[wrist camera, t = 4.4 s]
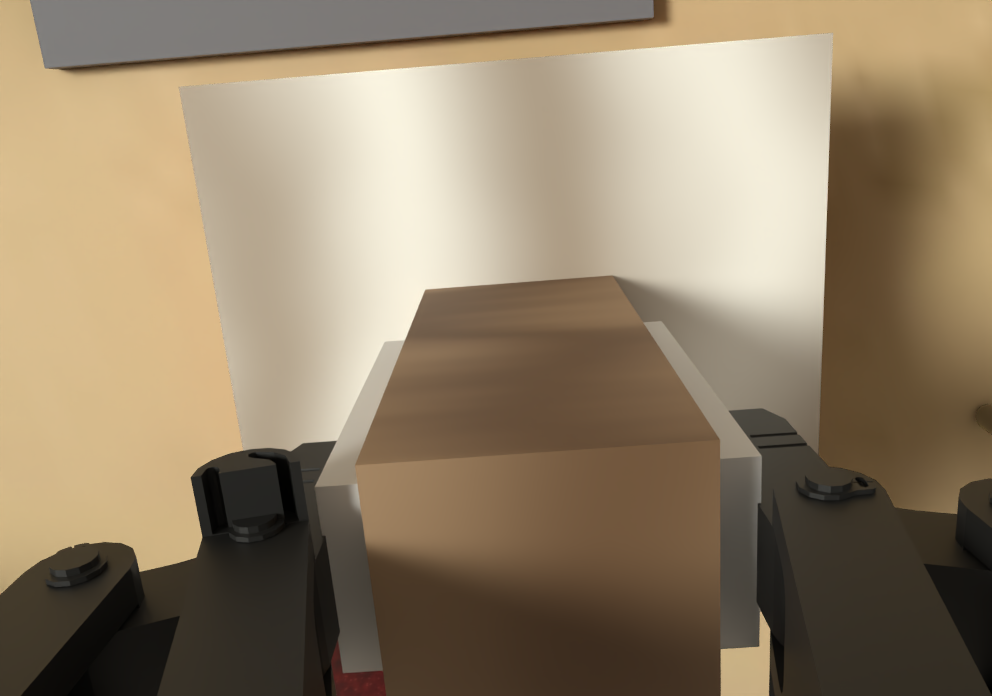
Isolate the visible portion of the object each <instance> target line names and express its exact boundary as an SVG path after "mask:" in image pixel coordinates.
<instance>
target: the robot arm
mask: <svg viewBox="0 0 992 696" xmlns="http://www.w3.org/2000/svg"><path fill="white" fill-rule="evenodd" d="M643 323H644V325H645V326H646V328H647V329H648V331H649V332H650V334H651V335H652V337H653V338H654V340H655V341H656V343H657V344H658V346H659V347H660V349H661V350H662V352H663V353H664V355H665V357H666V358H667V360H668V361H669V363H670V364H671V366H672V367H673V369H674V370H675V372H676V373H677V375H678V376H679V378H680V379H681V381H682V382H683V384H684V386H685V387H686V389H687V390H688V392H689V393H690V395H691V396H692V398H693V399H694V401H695V402H696V404H697V405H698V407H699V408H700V410H701V411H702V413H703V414H704V416H705V418H706V419H707V421H708V422H709V424H710V425H711V427H712V428H713V430H714V431H715V433H716V434H717V436H718V437H719V439H720V649H728V648H744V647H759V623H760V610H761V612H762V614H763V616H764V618H765V620H766V622H767V624H768V626H769V627H770V680H769V696H992V479H984V480H979V481H974V482H970V483H969V484H967V485H966V486H964V487H962V488H961V489H960V494H959V501H958V513H957V514H948V513H936V512H925V511H915V510H907V509H900V508H895V507H894V506H893V504H892V502H891V500H890V498H889V496H888V494H887V492H886V490H885V489H884V488H883V487H882V486H881V485H880V484H879V483H878V482H877V481H876V480H874V479H872V478H870V477H868V476H866V475H864V474H861V473H858V472H854V471H850V470H846V469H843V468H835V467H828V465H827V464H826V463H825V462H824V461H823V460H822V459H821V458H820V457H819V455H818V454H817V453H816V452H815V451H814V450H813V449H812V448H811V447H810V446H807V442H806V441H805V440H804V439H803V438H802V437H801V436H800V435H798V434H797V431H796V430H795V429H794V428H793V427H792V426H791V425H790V423H789V422H788V421H787V420H786V419H785V418H783V417H780V416H778V415H776V414H774V413H772V412H769V411H767V410H765V409H763V408H758V409H744V410H730V411H728V410H727V409H726V407H725V406H724V404H723V403H722V402H721V400H720V399H719V398H718V396H717V395H716V394H715V392H714V391H713V390H712V388H711V387H710V386H709V384H708V383H707V382H706V380H705V379H704V378H703V376H702V375H701V374H700V372H699V371H698V369H697V368H696V367H695V365H694V364H693V363H692V361H691V360H690V359H689V357H688V356H687V355H686V353H685V352H684V351H683V349H682V348H681V347H680V345H679V344H678V343H677V341H676V340H675V339H674V337H673V336H672V334H671V333H670V332H669V330H668V329H667V328H666V326H665V325H664V324H663V322H662V321H656V322H643ZM404 341H405V340H400V341H386V342H384V344H383V346H382V348H381V350H380V352H379V354H378V357H377V359H376V361H375V363H374V365H373V367H372V369H371V371H370V373H369V375H368V377H367V379H366V381H365V384H364V386H363V388H362V390H361V392H360V394H359V396H358V398H357V400H356V402H355V404H354V406H353V408H352V411H351V413H350V415H349V417H348V419H347V421H346V423H345V425H344V427H343V429H342V431H341V433H340V435H339V438H338V440H337V441H326V442H312V443H302V444H301V445H300V446H298V447H297V448H295V449H294V450H292V451H291V452H290V451H288V450H286V449H276V448H260V449H249V450H244V451H240V452H235V453H230V454H227V455H225V456H222V457H219V458H217V459H214V460H211V461H210V462H208V463H206V464H205V465H203V466H201V467H200V468H198V469H197V470H196V472H195V473H194V474H193V475H192V477H191V481H192V486H193V491H194V496H195V501H196V506H197V511H198V516H199V521H200V527H201V532H202V537H203V538H202V541H201V545H200V548H199V551H198V555H197V557H196V558H194V559H191V560H187V561H184V562H180V563H177V564H173V565H168V566H164V567H160V568H156V569H151V570H147V571H143V572H139V568H138V563H137V559H136V555H135V553H134V550H133V548H131V547H129V546H127V545H124V544H122V543H109V542H102V543H95V544H89V543H84V544H79V545H75V546H74V548H72V547H68V548H65V549H63V550H60V551H58V552H57V553H56V554H55V555H53V556H51V557H48V558H46V559H44V560H42V561H40V562H39V563H37V564H36V565H34V566H33V567H31V568H30V569H29V570H27V571H26V572H24V573H23V574H22V575H21V576H20V577H19V578H18V579H17V580H16V581H15V582H14V583H13V584H11V585H10V586H9V587H8V588H7V589H6V590H5V591H4V592H3V593H2V594H1V595H0V696H336V689H335V683H334V676H333V670H332V663H331V660H332V657H333V654H334V650H335V647H336V644H337V640H338V643H339V650H340V656H341V663H342V669H343V673H352V672H367V671H383V667H382V660H381V653H380V645H379V638H378V631H377V623H376V616H375V609H374V602H373V594H372V587H371V580H370V572H369V565H368V558H367V550H366V543H365V536H364V529H363V521H362V514H361V507H360V499H359V492H358V485H357V477H356V470H355V464H356V461H357V459H358V456H359V454H360V451H361V449H362V446H363V444H364V441H365V439H366V436H367V434H368V431H369V429H370V426H371V424H372V421H373V419H374V416H375V414H376V411H377V409H378V406H379V404H380V401H381V399H382V396H383V394H384V391H385V389H386V386H387V384H388V381H389V379H390V376H391V374H392V371H393V369H394V366H395V364H396V361H397V359H398V356H399V354H400V351H401V349H402V346H403V344H404Z"/></svg>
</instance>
